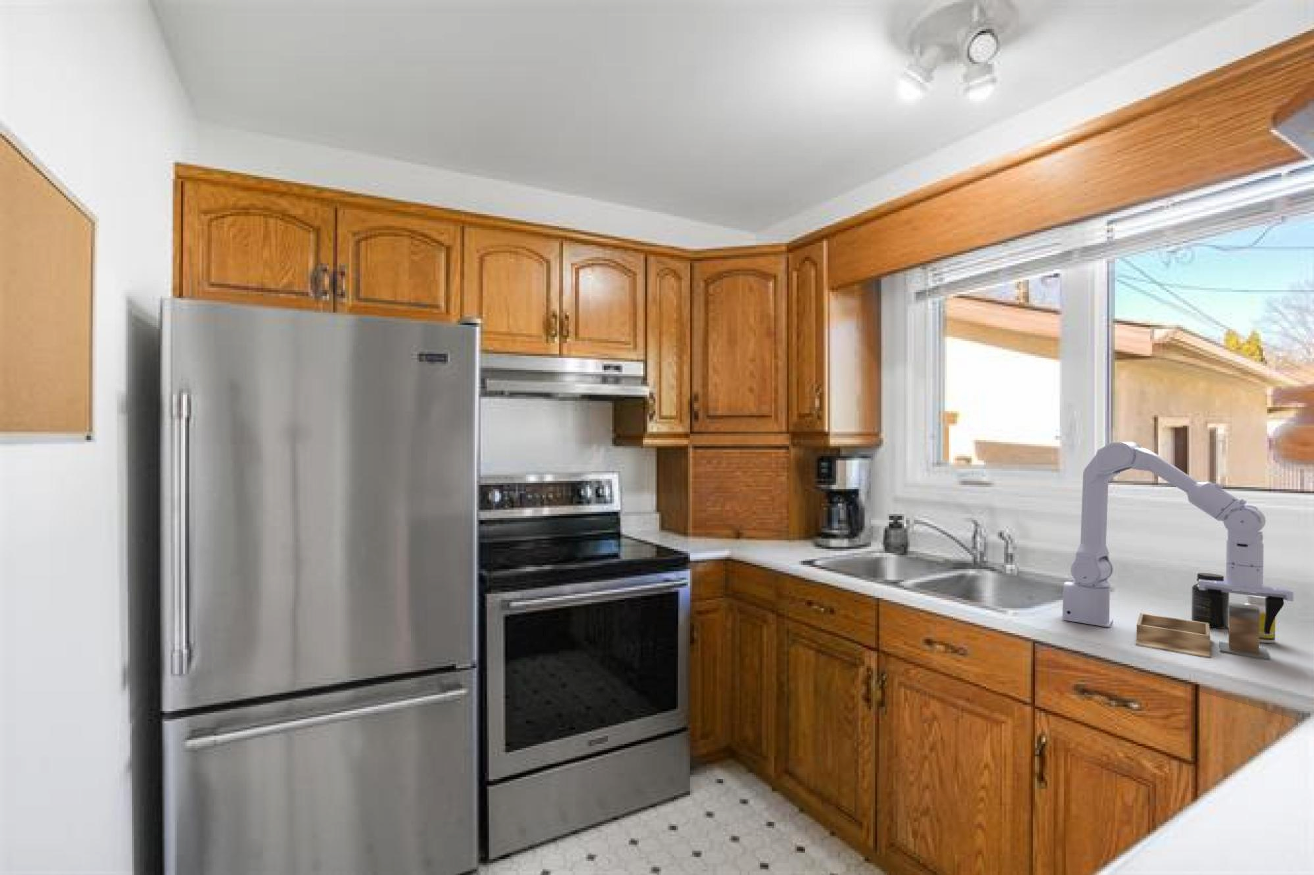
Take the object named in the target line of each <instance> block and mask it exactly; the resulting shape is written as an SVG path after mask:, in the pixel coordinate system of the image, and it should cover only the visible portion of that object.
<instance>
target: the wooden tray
mask: <svg viewBox="0 0 1314 875" xmlns="http://www.w3.org/2000/svg"><path fill="white" fill-rule="evenodd" d="M1134 644H1135V646H1138V647H1146V648H1151V649H1156V650H1163V651H1167V652H1168V651H1169V652H1175V653H1180V654H1187V655H1190V656H1191V655H1192V656H1196V657H1197V656H1198V657H1203V658H1211V630H1210V627H1209V623H1204V622H1197V621H1192V620H1187V619H1182V618H1177V617H1176V618H1175V617H1168V616H1162V615H1156V614H1155V615H1154V614H1149V613H1144V612H1143V613H1139V617H1138V619H1137V622H1136V640H1135V643H1134Z"/></svg>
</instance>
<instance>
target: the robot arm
mask: <svg viewBox="0 0 1314 875" xmlns="http://www.w3.org/2000/svg"><path fill="white" fill-rule="evenodd" d="M1131 469H1132V470H1137V471H1144V472H1145V471H1146V472H1151V473H1152V474H1154V475H1156V476H1157V477H1159V478H1161V479H1163V480H1164V481H1166V482H1167V483H1169V484H1171V485H1173V486H1174V487H1176V488H1178V489H1179V490H1181V491H1183V492H1184V493H1186V494H1187V500H1188V502H1189V504H1192V505H1193V506H1195V507H1196V508H1198V509H1200V510H1201V511H1202V512H1204V513H1206V514H1207V515H1209V516H1210V517H1212V518H1213V519H1215V520H1217V521H1218V522H1223V525H1224V527H1225V529H1227V540H1226V548H1225V549H1226V552H1225V554H1226V558H1225V559H1226V561H1225V567H1226V568H1225V580H1224V581H1211V580H1200V579H1199V590H1207V594H1208V596H1209V598H1210V600H1211V602H1212V604H1213V606H1214V608H1215V611H1216V614H1217V617H1218V621H1219V627H1224V622H1223V593H1222V592H1227V593H1229V594H1235V595H1236V594H1237V595H1243V596H1244V595H1245V596H1247V595H1251V596H1260V597H1266V598H1265V610H1266V615H1265V624H1264V632H1265V634H1270V629H1271V626H1272V623H1273V621H1274V619H1275V620H1276V617H1277V615H1278V614H1279V612H1280V610H1282V608H1284V607H1283V606H1284V604H1285V601H1287V602H1288V601H1289V602H1294V591H1293V590H1292V589H1286V588H1279V587H1272V586H1266V585H1264V543H1263V540H1264V535H1263V531H1261V530H1262V529H1264V527H1265V525H1266V522H1267V521H1266V516H1265V515H1264V512H1262V511H1261V510H1260V509H1259V508H1258V507H1256V506H1253V505H1247V501H1246V500H1245V499H1244V498H1242V499H1238V498H1237V497H1235V496H1233V495H1232V494H1230V493H1229V492H1227V491H1225V490H1224V489H1223V488H1224V486H1223V485H1221V484H1220V483H1219V482H1217V483H1213V482H1211V481H1201V482H1199V481H1197V480H1196V479H1194V478H1193V477H1192V476H1190V475H1188V473H1185V472H1184V471H1183V470H1181V469H1179V468H1178V467H1176V466H1175V465H1174V464H1172V463H1171V462H1169V461H1168V460H1166V459H1165V458H1164V457H1161V455H1158V453H1157V454H1156V453H1155V452H1153V451H1152V450H1149V449H1147V448H1145V447H1142V446H1140V445H1139V444H1138V443H1136V442H1133V441H1124V442H1123V441H1112V442H1110V443H1108V444H1105V445H1104V446H1102V447H1101V448H1099V449H1097V451H1096V454H1095V455H1094V457H1093V458H1092V459H1091V460H1090V462H1088V464H1087V466H1086V467H1085V468H1084V469H1083V471H1082V472H1083V474H1082V491H1081V492H1082V493H1081V499H1082V500H1081V519H1080V521H1081V522H1080V542H1079V543H1080V544H1079V545H1078V548H1077V550H1076V551H1075V560H1074V561H1073V563H1072V564H1071V567H1070V575H1071V577H1072V578H1073V582H1072V581H1064V583H1063V588H1062V589H1063V591H1062V606H1061V607H1062V609H1061V610H1062V617H1061V619H1062V620H1063V621H1069V622H1073V623H1078V624H1079V623H1080V624H1086V625H1091V626H1099V627H1103V628H1104V627H1105V628H1110V627H1111V625H1112V624H1113V618H1111V617H1110V611H1111V610H1110V606H1111V605H1110V602H1111V598H1110V597H1111V594H1110V593H1111V591H1110V589H1111V585H1110V582H1109V580H1108V579H1109V578H1110V577H1111V576H1112V575H1113V571H1114V568H1113V564H1112V562H1111V561H1110V556H1109V555H1110V554H1109V549H1108V547H1107V525H1108V522H1107V521H1108V501H1109V500H1108V498H1109V481H1110V480H1112V478H1114V477H1115V476H1118V475H1119V474H1120V473H1121V472H1124V471H1127V470H1131ZM1225 589H1226V590H1225ZM1284 600H1285V601H1284Z"/></svg>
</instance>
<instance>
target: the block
mask: <svg viewBox="0 0 1314 875" xmlns="http://www.w3.org/2000/svg"><path fill="white" fill-rule="evenodd" d="M1259 617H1260V610H1259V608H1258V606H1253V605H1245V603H1234V602H1229V626H1228V643H1229V650H1234V651H1240V652H1246V653H1252V654H1258V655H1259V648H1260V642H1259Z"/></svg>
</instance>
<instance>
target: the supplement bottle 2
mask: <svg viewBox="0 0 1314 875" xmlns="http://www.w3.org/2000/svg"><path fill="white" fill-rule="evenodd" d="M1265 598H1266V597H1260V596H1251V595H1246V601H1247V602H1246V603H1244V604H1245V605H1253V606H1258V608H1259V610H1260V617H1259V643H1264V644H1265V643H1267V644H1272V643H1275V642H1276V641H1275V640H1276V618H1275V619H1274V621H1273V623H1272V626H1271V629H1270V634H1265V632H1264V624H1265V615H1266V610H1265Z"/></svg>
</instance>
